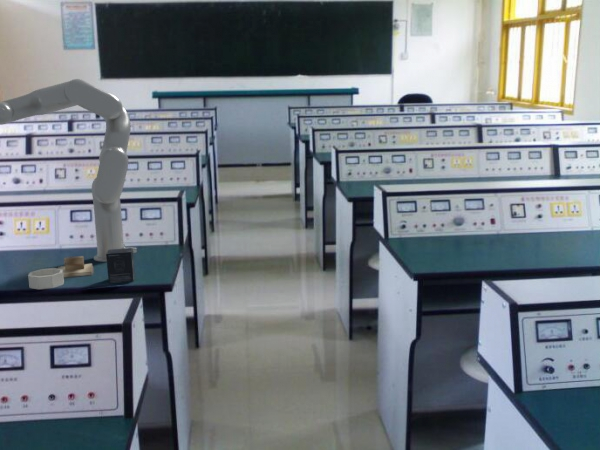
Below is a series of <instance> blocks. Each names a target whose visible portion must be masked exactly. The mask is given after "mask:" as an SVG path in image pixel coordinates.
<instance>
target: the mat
mask: <svg viewBox="0 0 600 450" xmlns="http://www.w3.org/2000/svg"><path fill="white" fill-rule="evenodd" d="M94 274H95V266H93V265H92V275H85V276H84V277H88V276H94ZM79 277H80V278H81V276H74V277H73V278H79ZM67 278H69V279H70V277H64V279H67Z"/></svg>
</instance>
